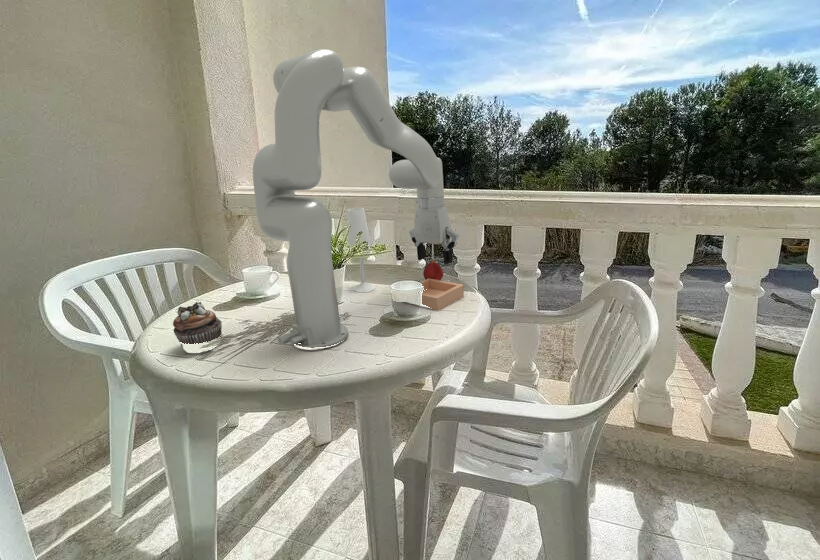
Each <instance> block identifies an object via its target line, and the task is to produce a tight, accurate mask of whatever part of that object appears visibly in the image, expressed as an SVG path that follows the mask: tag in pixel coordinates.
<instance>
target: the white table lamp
mask: <svg viewBox="0 0 820 560" xmlns="http://www.w3.org/2000/svg"><path fill="white" fill-rule="evenodd" d="M365 211H366V210H365V208H364V207H353V208H349V209H348V208H347V228H348V227H349V225H350V224H351V227H350V229H349V234H348V233H347V239H348V240H347V241H348V242H347V243H348V244H350V245H354V244H355V243H356V237H357V234H358V233H359V231H362V232H363V234H362V237H361V239H360V240H361V241H366V242H368V245H369V246H370V247H371V248H372V242H371V237H370V233H369V232H370V231H369V228H368V227H369V226H368V221H367V217H366V212H365ZM348 244H347V245H348ZM358 261H359V269H360V270H359V271H360V279H361V282H360V283H359V284H358V285H356V286H355V287H353V291H354V292H357V293H365V292H366V293H367V292H371V291H374V290H375V289H376V286H375V285H373V284H370V283H368V282H366V273H365V265H364V264H365V263H364V257H363V258H359V257H358Z"/></svg>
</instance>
